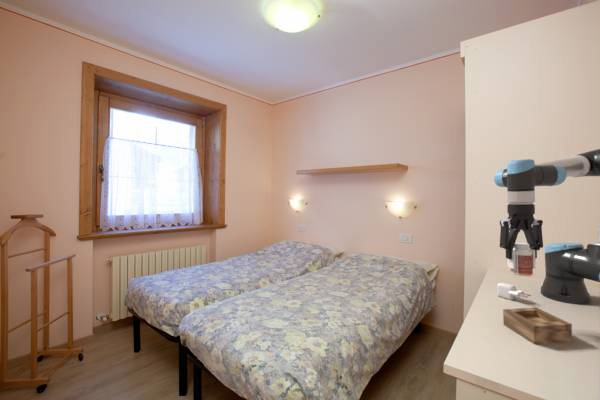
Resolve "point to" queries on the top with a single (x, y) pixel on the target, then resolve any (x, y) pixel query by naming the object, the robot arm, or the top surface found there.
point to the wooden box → (537, 325)
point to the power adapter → (509, 291)
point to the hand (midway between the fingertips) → (521, 267)
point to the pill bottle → (523, 260)
